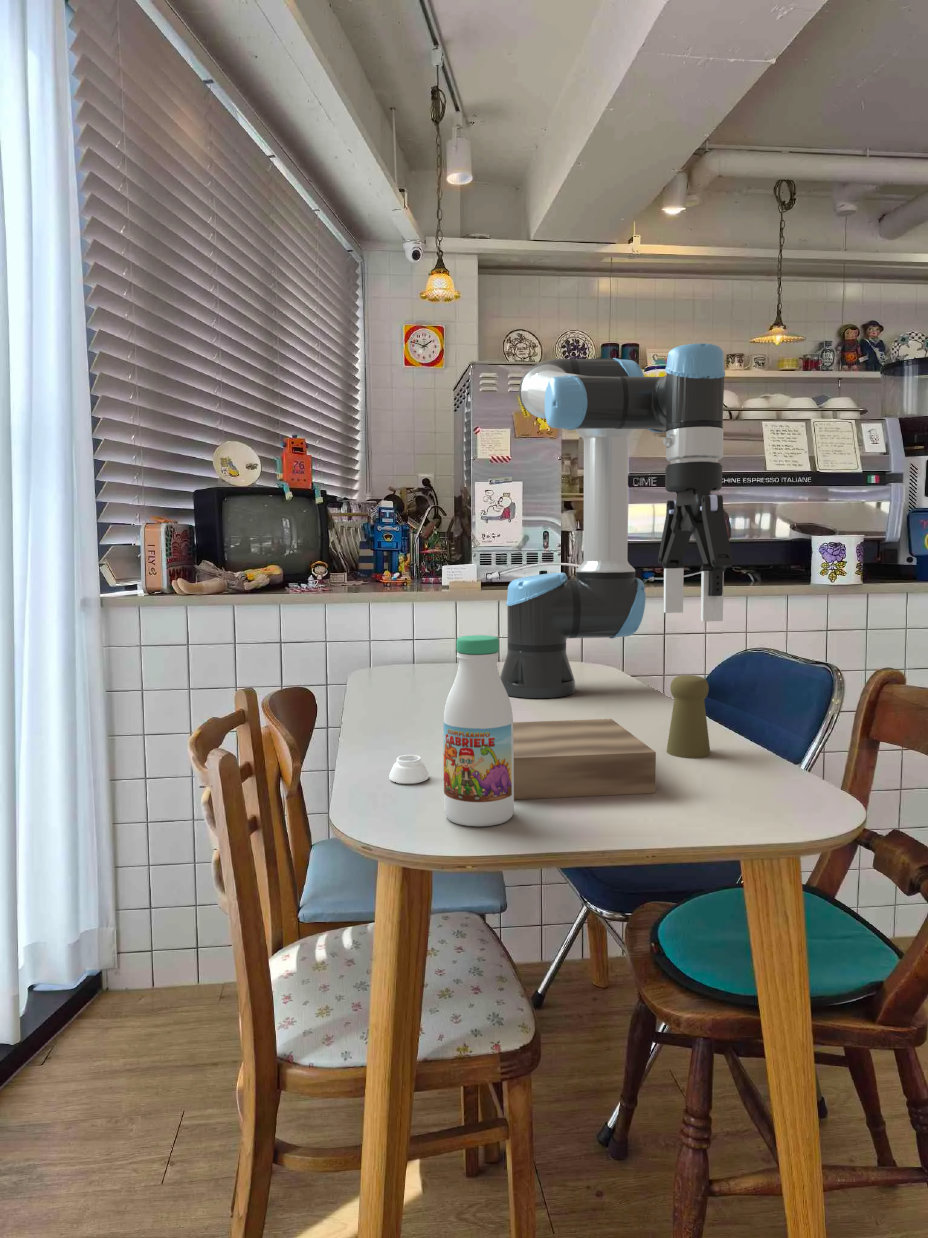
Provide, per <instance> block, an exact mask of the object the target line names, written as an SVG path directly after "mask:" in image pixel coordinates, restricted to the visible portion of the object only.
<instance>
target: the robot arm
mask: <svg viewBox="0 0 928 1238" xmlns="http://www.w3.org/2000/svg"><path fill="white" fill-rule="evenodd" d="M666 357H667V358H666V359H667V360H666V366H665V369H664V370H665V373H666V375H665V376H645V374H644V372H643V370H642V369H641V366H640V365H639V364H638V363H637V361H634V360H631V359H620V358H616V357H613V358H556V359H550V360H546V361H543V362H541V363H537V364H536V365H534V366H532V367H531V368H529V369H528V370H527V371H526V372H525V373H524V375H523V376H522V378H521V380H520V382H519V388H518V396H519V401H520V403H521V405H522V407H523V408H524V410H525V411H527V412H528V413H529V414H530V415H532V416H534V417H536V418H539V419H545V420H546V423H547V425H548V426H549V428H552V429H563V430H565V431H566V430H568V431H569V430H570V431H574V430H575V432H576V434H578V435H579V436H580V438H582V439H583V440H582V441H583V561H582V563H581V564H580V565H579V566H578V568H576V570H575V579H568V576H567V574H566V573H565V572H553V573H552V572H551V573H543V574H542V573H541V574H535V575H528V576H524V577H519V578H515V579H513V580H511V581H510V582H509V584H508V586H507V595H506V599H507V600H506V603H505V604H506V606H507V608H506V609H507V615H506V616H507V617H506V618H507V619H506V620H507V641H506V643H507V650H506V651H507V652H506V657H505V660H504V662H503V666H502V669H501V672H500V678H501V681H502V683H503V685H504V688H505V690H506V692H507V694H508V697H509V696H510V697H514V698H523V699H549V698H551V699H552V698H561V697H566V696H570V695H573V694H575V693H576V679H575V676H574V674H573V671H572V667H571V665H570V660H569V658H568V655H567V639H595V638H596V639H600V638H603V639H604V638H605V639H607V638H609V639H616V638H624V637H631V636H632V635H634V634H635V633H636V632H637V631H638V630H639V628H640V626H641V624H642V621H643V617H644V613H645V609H646V608H645V607H646V597H647V596H646V591H645V590H646V588H645V584H644V582H643V580H641V579H640V578H639V577H636V569H635V568H634V567H633V566H632V565H631V564H630V562H629V561H628V541H629V540H628V530H629V528H628V527H629V526H628V524H629V523H628V520H629V517H628V516H629V514H628V513H629V509H628V508H629V499H628V497H629V494H628V493H629V438H630V437H631V436H632V435H633V434H634V432H635V431H636V430H647V431H650V432H653V433H665V434H666V437H664V438H663V439H662V443H663V445H665V460H667V462H670V464H667V465H666V467H665V471H664V472H665V473H664V474H665V477H664V478H665V479H664V480H665V481H664V482H665V488H664V489H665V490H666V492H668V493H676V499H675V500H674V499H673V500H672V499H671V500H666V506H665V507H666V510H665V511H666V513H665V520H664V525H663V531H662V536H661V540H660V541H661V542H660V546H659V552H658V557H657V562H658V564H662V565H661V566H662V568H663V613H665V614H672V613H675V614H676V613H677V614H679V613H681V614H683V613H684V575H685V574H684V568H685V567H686V564H685V562H684V561H683V560H684V557H685V554H686V551H687V549H688V545H689V543H690V539H691V536H692V535H693V536H694V538H695V541H696V545H697V547H698V550H699V554H700V557H701V561H702V565H701V566H700V568H699V571H700V572H701V574H700V575H701V577H700V579H701V580H700V581H701V582H700V583H701V584H700V585H701V586H700V588H701V589H700V590H701V591H700V622H703V623H704V622H723V621H724V582H725V581H724V579H725V578H724V577H725V575H724V573H725V571H727V567H733V564H734V559H733V553H732V549H731V543H730V539H729V534H728V528H727V524H726V518H725V513H724V496H723V495H722V494H712V493H711V492H718V491H720V490H721V489H722V488H723V464H721V462H719V460H721V459H723V457H724V429H723V427H724V424H723V423H724V398H725V397H724V396H725V395H724V394H725V392H724V391H725V376H726V371H725V359H724V357H725V356H724V351H723V349H722V348H721V347H720V346H719V345H717V344H713V343H702V342H701V343H688V344H682V345H679V346H678V345H677V346H676V347H673V348H672V349H671V350H669V351H668V353H667V356H666Z"/></svg>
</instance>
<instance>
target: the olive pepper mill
mask: <svg viewBox="0 0 928 1238" xmlns="http://www.w3.org/2000/svg"><path fill="white" fill-rule="evenodd" d="M709 689H710V687H709V683H708V681H707V679H706V678H704V677H702V676H699V675H695V674H694V675H693V674H683V675H677V676H675V677H674V678H673V679H672V681H671V683H670V694H671V696H672V697H673V698H674V700H673V707H672V712H671V720H670V724H669V725H670V727H669V731H668V732H669V733H668V739H667V743H666V744H667V746H666V747H667V748H666V753H667V754H669V755H671V756H674V757H678V758H685V759H700V758H702V759H703V758H707V757H709V756H710V755H711V747H710V739H709V729H708V728H709V727H708V723H707V722H708V721H707V713H706V712H707V711H706V703H705V699H706V698H707V697H708V695H709Z"/></svg>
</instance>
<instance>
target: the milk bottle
mask: <svg viewBox="0 0 928 1238" xmlns="http://www.w3.org/2000/svg"><path fill="white" fill-rule="evenodd" d="M455 647H456V652H457V653H456V658H457V659H458V667H457V672H456V676H455V678H454V681H453V684H452V686H451V688H450V691H449V693H448V695H447V698H446V701H445V706H444V711H443V742H442V743H443V751H442V752H443V754H442V755H443V807H444V808H443V809H444V814H445V817H446V819H447V820H449V821H450V822H452V823H454V824H457V825H461V826H466V827H490V826H497V825H501V824H504V823H506V822H508V821H510V819H511V818H512V816H513V814H514V806H515V805H514V804H515V800H514V746H513V722H514V721H513V719H514V718H513V707H512V703H511V700H510V697H509V695H508V694H507V692H506V690H505V688H504V685H503V683H502V681H501V678H500V676H501V674H500V672H499V668H498V664H497V663H498V660H497V659H498V658H499V655H500V654H499V650H500V641H499V638H498V637H496V636H492V635H483V634H482V635H481V634H477V635H476V634H475V635H463V636H459V637H458V638H456V646H455Z"/></svg>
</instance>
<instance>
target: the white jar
mask: <svg viewBox="0 0 928 1238" xmlns="http://www.w3.org/2000/svg"><path fill="white" fill-rule="evenodd" d="M388 775H389V777H388V778H389V780H390V781H392V782H393V783H395V782H396V784H400V785H416V784H420V783H422V782H425V781H427V780H428V779H429V778H430V777H429V776H430V775H429V771H428V769H427V767H426V766H425V764H424V762H422V758H421V757H420V755H416V754H405V755H404V754H403V755H399V756H398V757H396V762H394V764H393V766H392V768H391V770H390V772H389V774H388Z"/></svg>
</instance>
